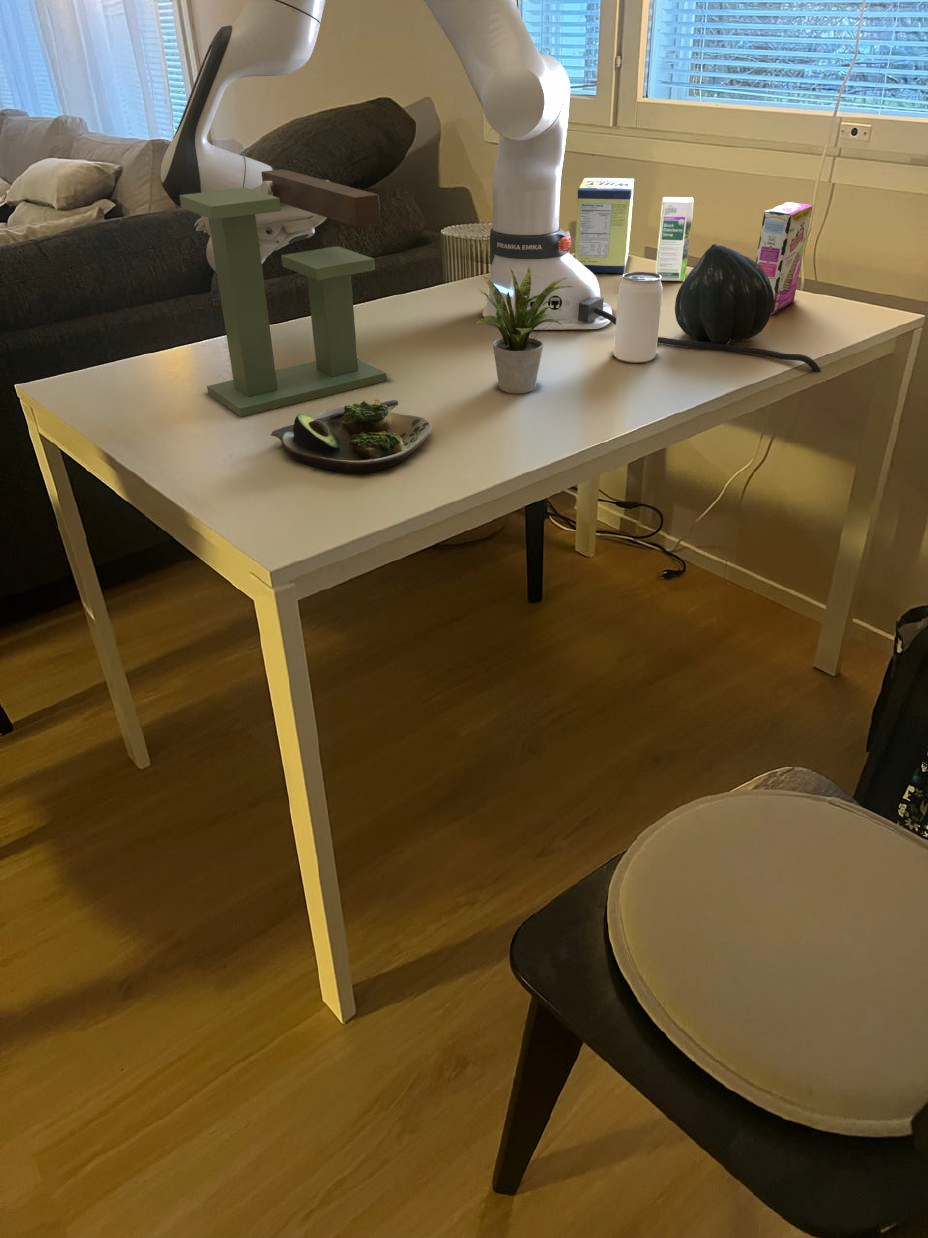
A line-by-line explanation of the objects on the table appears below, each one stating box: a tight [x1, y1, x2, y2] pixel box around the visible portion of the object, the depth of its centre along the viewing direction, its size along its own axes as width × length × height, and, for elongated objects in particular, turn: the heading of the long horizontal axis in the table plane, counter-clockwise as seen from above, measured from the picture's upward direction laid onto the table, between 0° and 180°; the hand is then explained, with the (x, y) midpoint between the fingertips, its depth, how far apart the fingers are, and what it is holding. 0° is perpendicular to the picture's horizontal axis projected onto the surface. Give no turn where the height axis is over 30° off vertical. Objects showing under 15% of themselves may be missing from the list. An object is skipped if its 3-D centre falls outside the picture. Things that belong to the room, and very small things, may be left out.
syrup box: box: [654, 196, 695, 282], centre depth 178 cm, size 6×6×14 cm
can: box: [613, 271, 664, 364], centre depth 139 cm, size 6×6×12 cm
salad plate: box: [270, 399, 433, 474], centre depth 115 cm, size 19×18×5 cm
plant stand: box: [179, 188, 388, 418], centre depth 125 cm, size 11×23×26 cm, turn 126°
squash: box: [674, 243, 774, 344], centre depth 146 cm, size 14×15×15 cm
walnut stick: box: [261, 168, 381, 228], centre depth 123 cm, size 26×3×3 cm, turn 36°
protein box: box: [574, 176, 635, 274], centre depth 187 cm, size 10×16×16 cm
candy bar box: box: [755, 201, 814, 316], centre depth 160 cm, size 11×5×16 cm, turn 144°
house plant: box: [474, 268, 571, 394], centre depth 126 cm, size 14×14×16 cm
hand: (287, 183), depth 128 cm, fingers closed on walnut stick, 3 cm apart
